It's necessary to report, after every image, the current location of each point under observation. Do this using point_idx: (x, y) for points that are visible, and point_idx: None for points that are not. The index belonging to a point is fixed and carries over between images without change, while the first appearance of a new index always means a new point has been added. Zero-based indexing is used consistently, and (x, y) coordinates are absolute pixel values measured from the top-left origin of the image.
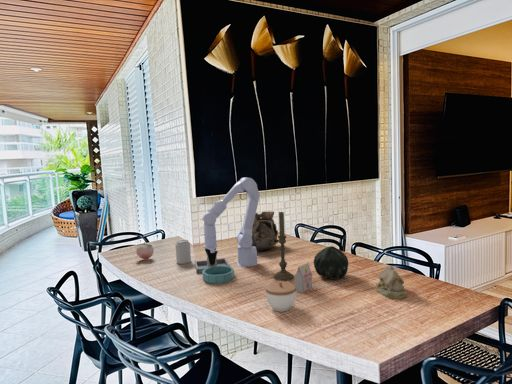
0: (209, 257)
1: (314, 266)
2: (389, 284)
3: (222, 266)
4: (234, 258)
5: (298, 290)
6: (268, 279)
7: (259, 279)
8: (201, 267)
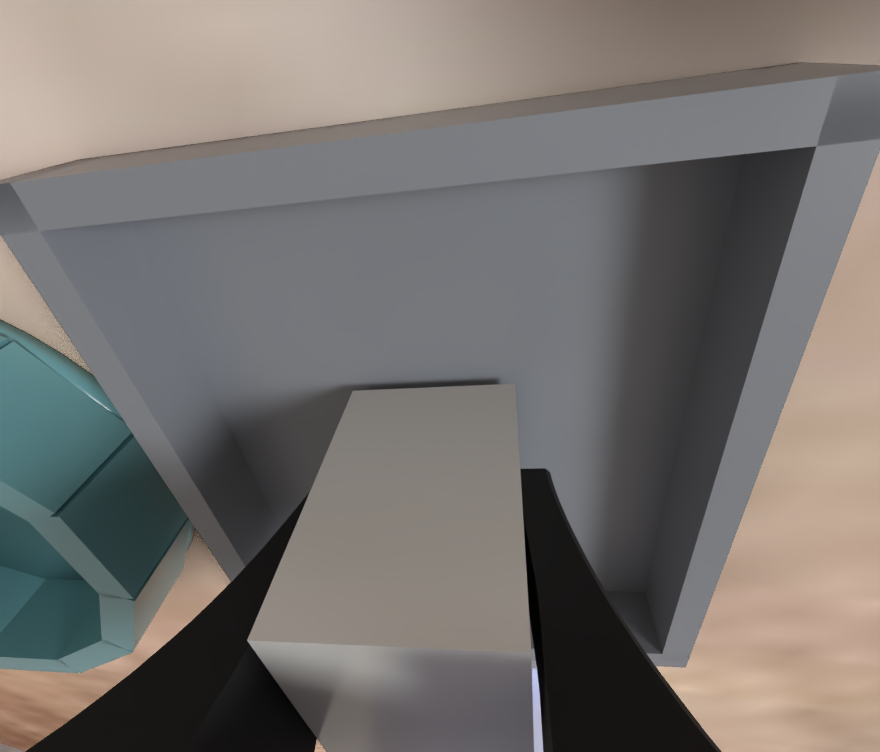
0: (188, 646)
1: None
2: None
3: (102, 615)
4: (808, 674)
5: None
6: (88, 701)
7: (74, 675)
8: (498, 266)
